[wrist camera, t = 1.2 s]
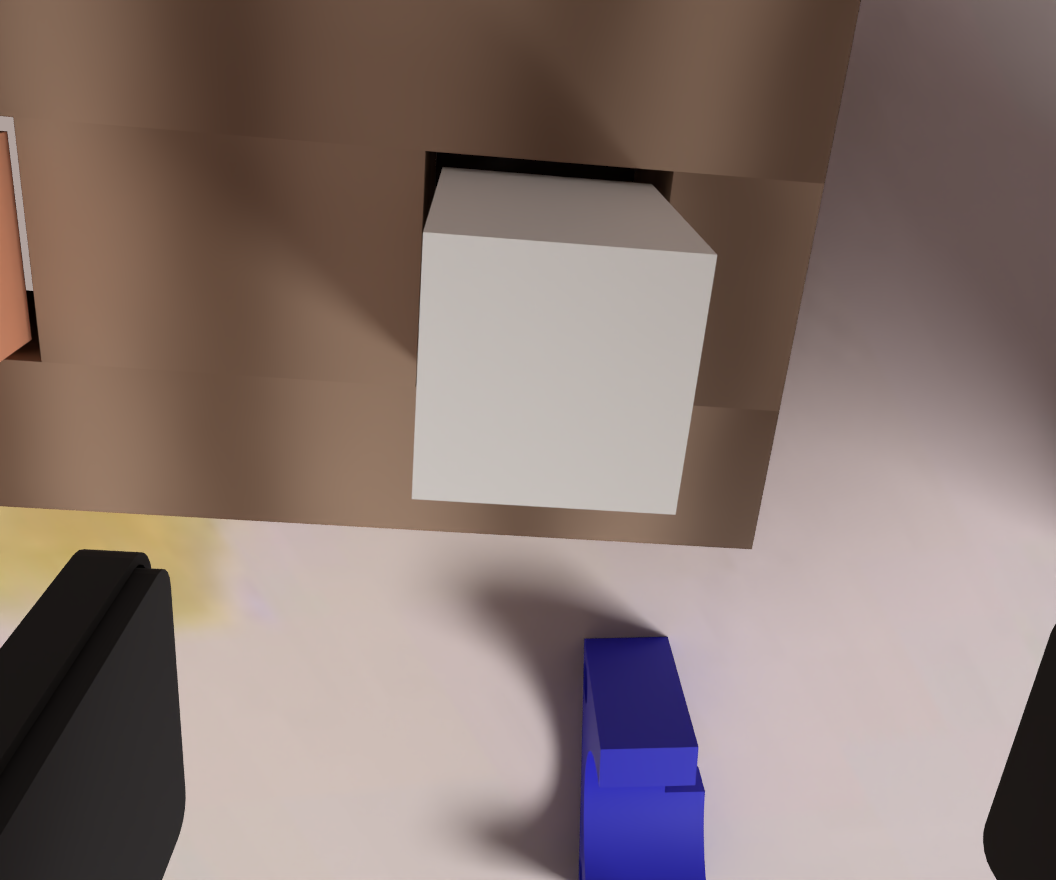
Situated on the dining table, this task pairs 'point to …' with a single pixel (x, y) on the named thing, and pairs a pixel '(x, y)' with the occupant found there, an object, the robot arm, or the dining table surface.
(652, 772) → the cable clip
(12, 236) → the terracotta plunger
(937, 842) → the dining table surface
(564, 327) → the white rectangular block
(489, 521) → the button box
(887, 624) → the dining table surface
